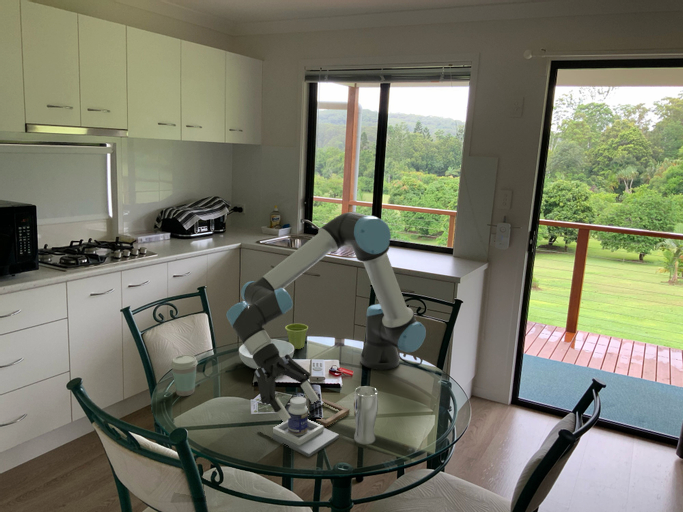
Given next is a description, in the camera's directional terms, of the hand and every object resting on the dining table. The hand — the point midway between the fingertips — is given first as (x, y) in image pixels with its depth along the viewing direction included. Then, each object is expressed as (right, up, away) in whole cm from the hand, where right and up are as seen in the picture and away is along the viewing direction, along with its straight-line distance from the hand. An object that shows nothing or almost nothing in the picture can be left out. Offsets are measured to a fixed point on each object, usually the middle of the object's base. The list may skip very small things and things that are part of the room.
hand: (302, 410), depth 155 cm
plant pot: (-7, +6, +69) cm, 70 cm away
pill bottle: (-1, -7, +2) cm, 7 cm away
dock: (-1, -8, +2) cm, 8 cm away
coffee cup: (-41, -2, +27) cm, 49 cm away
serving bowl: (-17, +3, +51) cm, 54 cm away
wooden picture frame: (+6, -5, +15) cm, 17 cm away
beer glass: (+18, -9, +1) cm, 20 cm away
